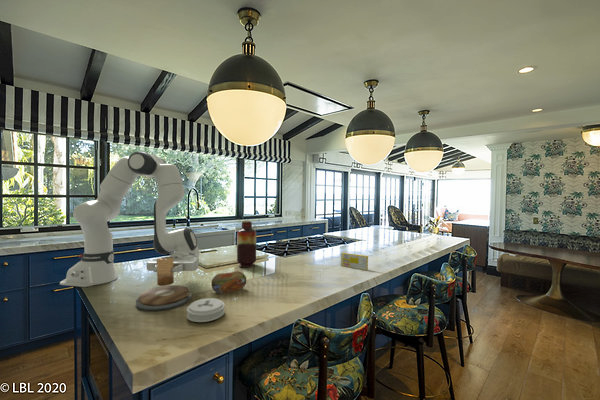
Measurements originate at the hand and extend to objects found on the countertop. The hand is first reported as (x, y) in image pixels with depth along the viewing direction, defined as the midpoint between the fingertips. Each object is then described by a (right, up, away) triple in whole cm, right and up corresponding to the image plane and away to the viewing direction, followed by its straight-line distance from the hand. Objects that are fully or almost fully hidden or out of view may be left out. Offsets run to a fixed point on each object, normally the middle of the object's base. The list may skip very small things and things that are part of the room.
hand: (164, 270), depth 110 cm
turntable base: (0, -12, +1) cm, 13 cm away
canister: (0, -5, +1) cm, 6 cm away
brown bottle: (+22, -11, +53) cm, 59 cm away
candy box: (+85, -12, +50) cm, 100 cm away
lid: (+21, -14, -12) cm, 27 cm away
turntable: (0, -11, +1) cm, 11 cm away
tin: (+23, -13, +12) cm, 29 cm away
